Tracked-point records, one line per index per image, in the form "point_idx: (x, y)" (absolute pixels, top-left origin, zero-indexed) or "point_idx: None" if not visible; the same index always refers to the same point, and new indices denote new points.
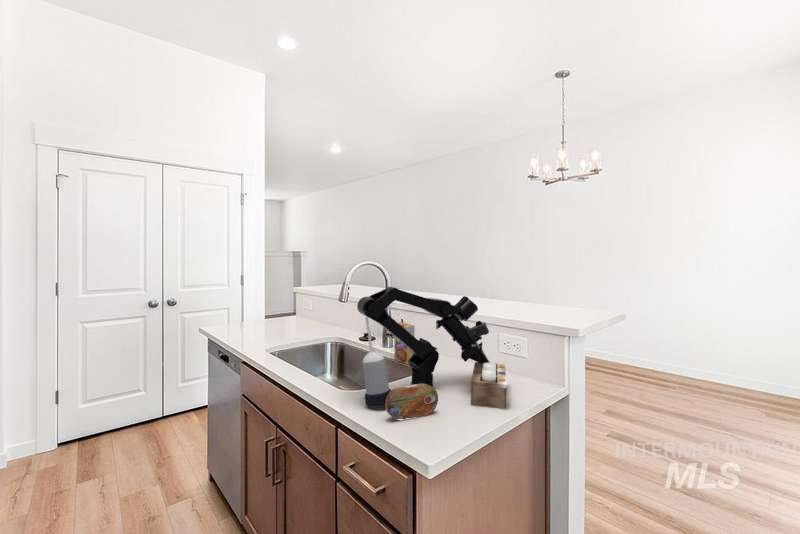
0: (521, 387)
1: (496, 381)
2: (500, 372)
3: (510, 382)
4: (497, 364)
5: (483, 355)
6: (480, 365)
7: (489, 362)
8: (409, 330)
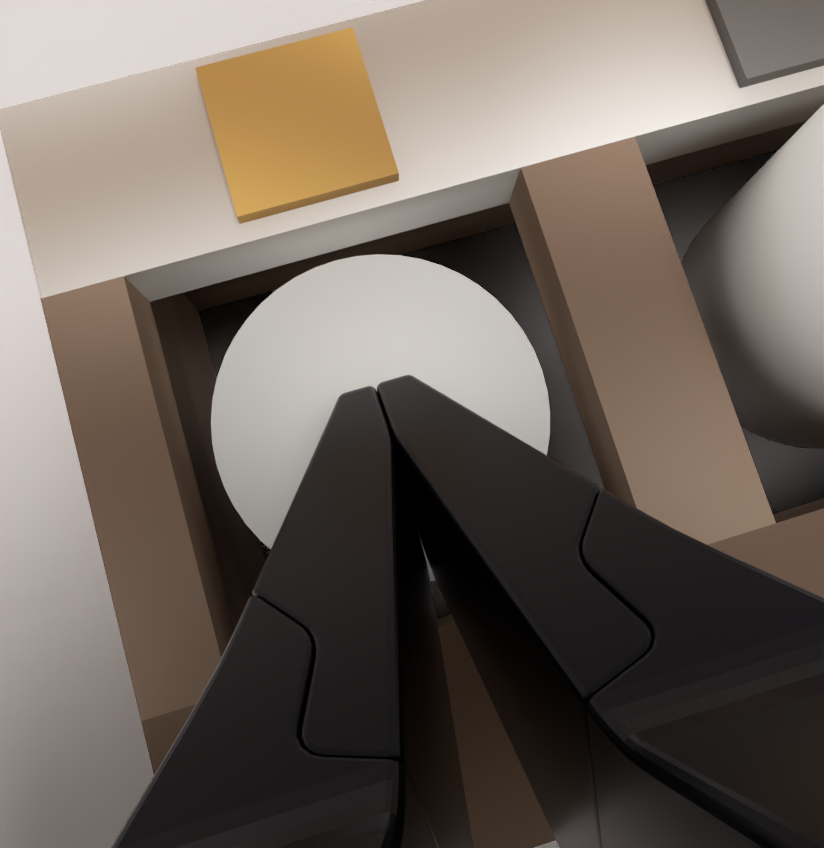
0: (149, 63)
1: (209, 398)
2: (797, 17)
3: (4, 248)
4: (111, 282)
5: (689, 549)
6: (459, 670)
7: (377, 409)
8: None
